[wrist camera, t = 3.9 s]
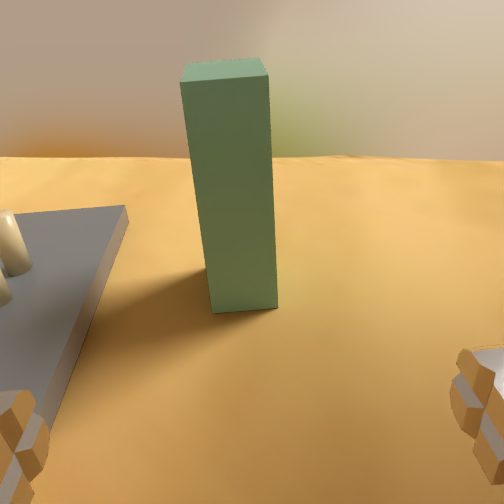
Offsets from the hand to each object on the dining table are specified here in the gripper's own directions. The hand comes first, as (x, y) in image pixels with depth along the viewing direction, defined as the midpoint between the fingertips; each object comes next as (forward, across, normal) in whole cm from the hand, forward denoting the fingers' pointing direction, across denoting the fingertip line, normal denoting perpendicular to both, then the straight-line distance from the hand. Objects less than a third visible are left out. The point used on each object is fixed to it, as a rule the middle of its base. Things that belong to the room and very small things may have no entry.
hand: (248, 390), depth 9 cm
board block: (+12, 0, +6) cm, 13 cm away
